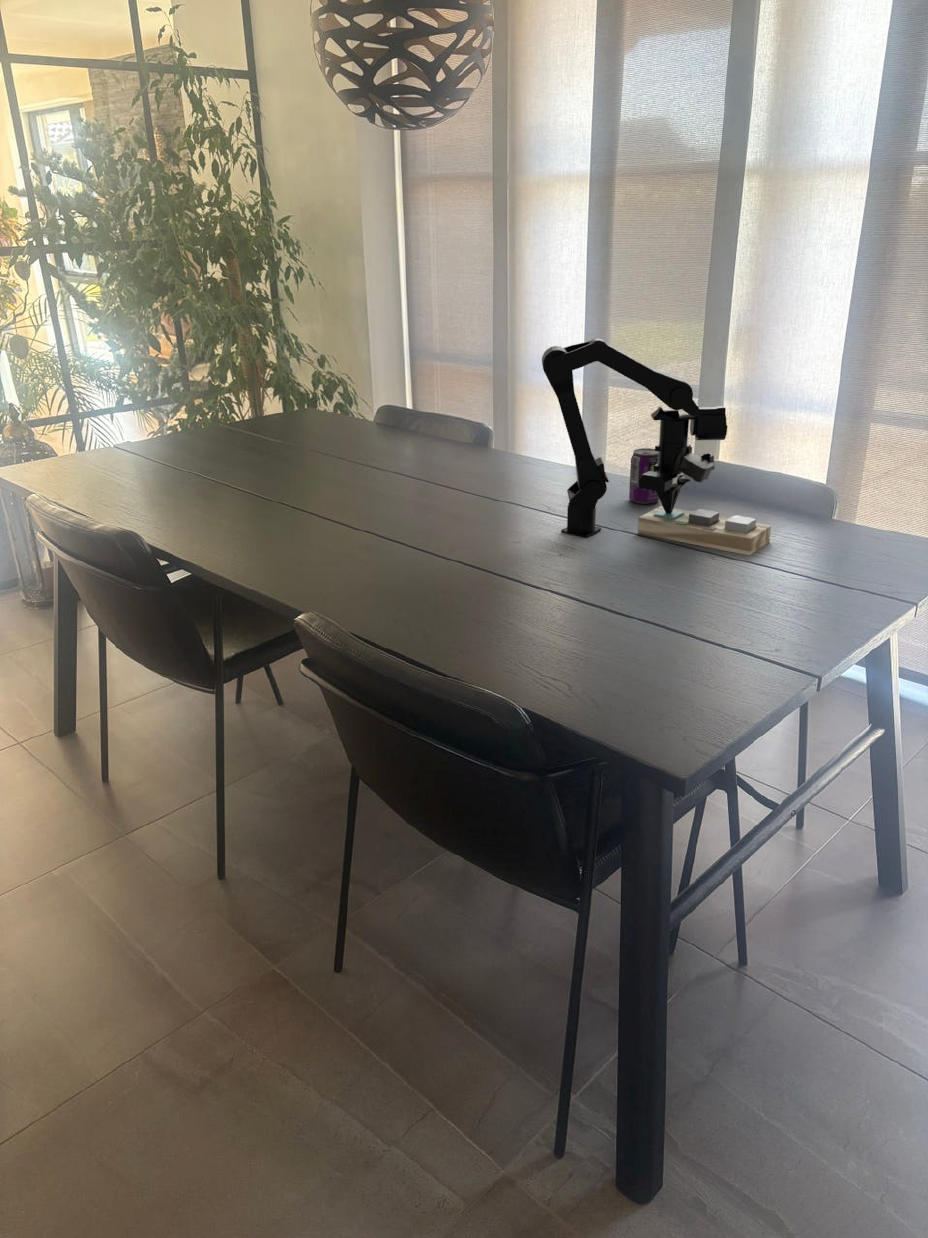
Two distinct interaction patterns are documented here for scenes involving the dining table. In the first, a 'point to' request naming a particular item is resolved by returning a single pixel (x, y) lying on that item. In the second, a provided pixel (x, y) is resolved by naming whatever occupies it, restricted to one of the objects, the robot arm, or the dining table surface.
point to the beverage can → (641, 464)
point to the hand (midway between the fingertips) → (668, 513)
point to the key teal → (671, 516)
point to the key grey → (740, 524)
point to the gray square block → (704, 517)
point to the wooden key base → (704, 533)
